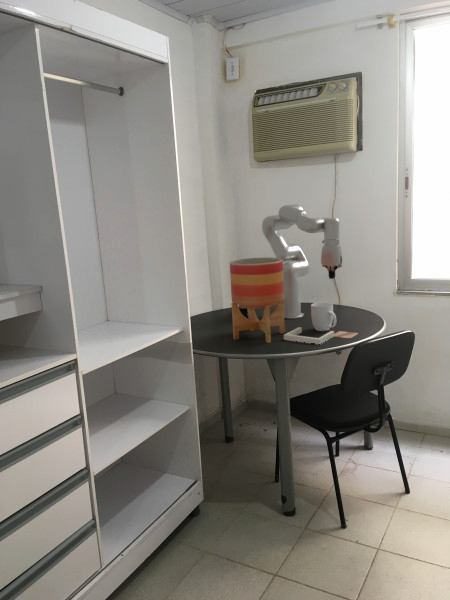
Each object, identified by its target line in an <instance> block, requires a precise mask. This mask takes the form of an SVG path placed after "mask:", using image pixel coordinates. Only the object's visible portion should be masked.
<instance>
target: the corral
mask: <svg viewBox="0 0 450 600" xmlns="http://www.w3.org/2000/svg"><path fill="white" fill-rule="evenodd" d="M302 333H303V327H299V326H298V327H296V328H294V329H293V330H291V331H289V332H285V333H283V340H284V341H291V342H296V341H297V343H298V342H299V343H304V342H305V344H311V343H315V344H314V345H319V344H320V345H322V344H324V343H326V342H328V341H329V340H331V339H332V338H335V337H334V334H335V331H334V330H330V331H328V332H326V333H325V334H323V335H321V336H320V337H312V336H305V335H300V334H302ZM330 338H331V339H330ZM325 341H326V342H325ZM323 342H324V343H323ZM321 343H322V344H321Z"/></svg>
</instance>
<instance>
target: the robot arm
mask: <svg viewBox="0 0 450 600" xmlns="http://www.w3.org/2000/svg"><path fill="white" fill-rule="evenodd" d="M294 225H295V226H296V227H297V228H298V229H299V230H300V231H302V232H305V233H308V234H317V233H318V234H319V233H323V240H322V241H321V243H322V244H323V245H322V249H321V255H320V263H321V267H323V268H326V270H327V271H328V279H329V280H333V279H335V278H336V271H337V269H339V268H343V265H342V264H343V252H342V246H341V245H340V220H339V218H337V217H325V216H324V217H314V218H313V217H312V218H309V217H308V213H307V212H306V211H305V209H303V207H302V206H301V205H299V204H285V205H282V206H281V207H279V210H278V214H275V215H268V216H266V217H264V218H263V220H262V223H261V230H262V234H263V235H264V238H265V239H266V240H267V242H268V243H269V245H270V249H272V251H273V254H274V255H275V258H280V259H282V260H283V278H284V319H300V318H303V317H304V312H301V311H302V309H301V308H302V307H301V305H302V304H301V285H300V283H299V282H300V281H299V280H298V279H297V278H299V277H301V278H302V277H305V276H307V275H308V274H310V269H311V268H310V264H309V262H308V260H307V259H308V258H306V255H305V253H304V251H303V250H302V248H301V247H300V246H299V245H297V244H296V243H290V244H288V243H287V242H286V240H285V239H284V237H283V235H282V234H281V233H280V232H278V231H279V230H287V229H290V228H291V227H293V226H294Z"/></svg>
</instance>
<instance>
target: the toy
mask: <svg viewBox="0 0 450 600" xmlns="http://www.w3.org/2000/svg"><path fill="white" fill-rule="evenodd" d="M238 307H239V306H238ZM239 310H240V312H241V313H242V315H243V316H244V317H246V318H247V319H249V315H248V309H247V308H242V307H239Z"/></svg>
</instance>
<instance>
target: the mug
mask: <svg viewBox="0 0 450 600" xmlns="http://www.w3.org/2000/svg"><path fill="white" fill-rule="evenodd" d="M310 316H311V317H310V319H311V323H312V326H313V327H314V330H316V331H317V332H327V331H328V332H329V330H330V329H331V328H334V327H335V326H336V325H337V316H336V313H334V304H333V303H330V302H314V303H312V304H310Z"/></svg>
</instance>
